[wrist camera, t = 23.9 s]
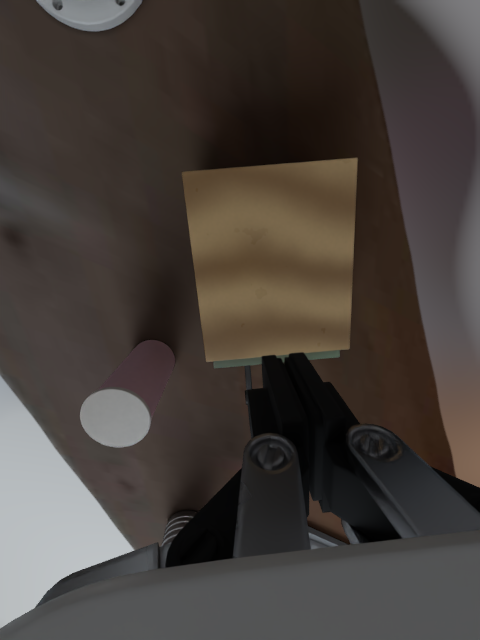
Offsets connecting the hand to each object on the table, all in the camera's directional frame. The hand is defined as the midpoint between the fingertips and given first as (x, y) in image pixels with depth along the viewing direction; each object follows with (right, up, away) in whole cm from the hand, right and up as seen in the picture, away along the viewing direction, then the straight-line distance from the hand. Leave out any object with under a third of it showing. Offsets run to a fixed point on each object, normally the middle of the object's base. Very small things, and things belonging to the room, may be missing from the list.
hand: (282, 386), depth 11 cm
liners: (-13, -3, +24) cm, 27 cm away
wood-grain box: (+1, +10, +21) cm, 23 cm away
